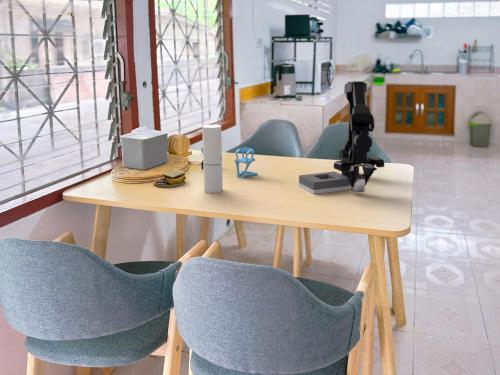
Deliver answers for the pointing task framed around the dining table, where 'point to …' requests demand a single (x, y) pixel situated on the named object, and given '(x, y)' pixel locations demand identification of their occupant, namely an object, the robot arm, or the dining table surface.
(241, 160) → the chair
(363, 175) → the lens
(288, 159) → the dining table surface
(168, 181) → the toy sandwich meal
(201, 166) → the watch
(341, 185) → the grey plate with pocket
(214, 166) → the cylindrical container
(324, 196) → the dining table surface
